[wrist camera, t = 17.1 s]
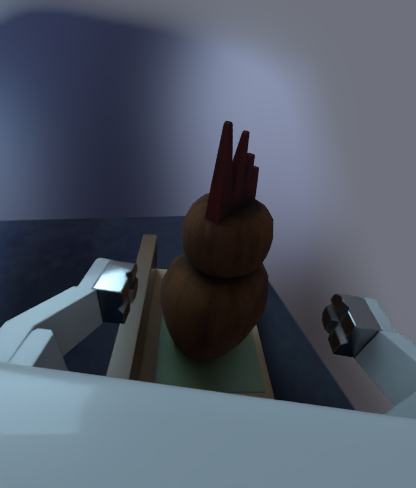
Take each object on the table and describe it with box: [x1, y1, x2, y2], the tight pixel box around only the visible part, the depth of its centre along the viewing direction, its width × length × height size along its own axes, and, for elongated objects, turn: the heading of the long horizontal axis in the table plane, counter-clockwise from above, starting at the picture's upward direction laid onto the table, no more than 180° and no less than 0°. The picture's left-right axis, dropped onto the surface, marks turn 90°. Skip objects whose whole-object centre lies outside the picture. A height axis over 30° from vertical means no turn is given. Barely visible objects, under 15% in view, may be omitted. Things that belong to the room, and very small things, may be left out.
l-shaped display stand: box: [106, 234, 275, 400], centre depth 19 cm, size 10×14×7 cm
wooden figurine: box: [160, 121, 273, 360], centre depth 14 cm, size 7×6×15 cm
